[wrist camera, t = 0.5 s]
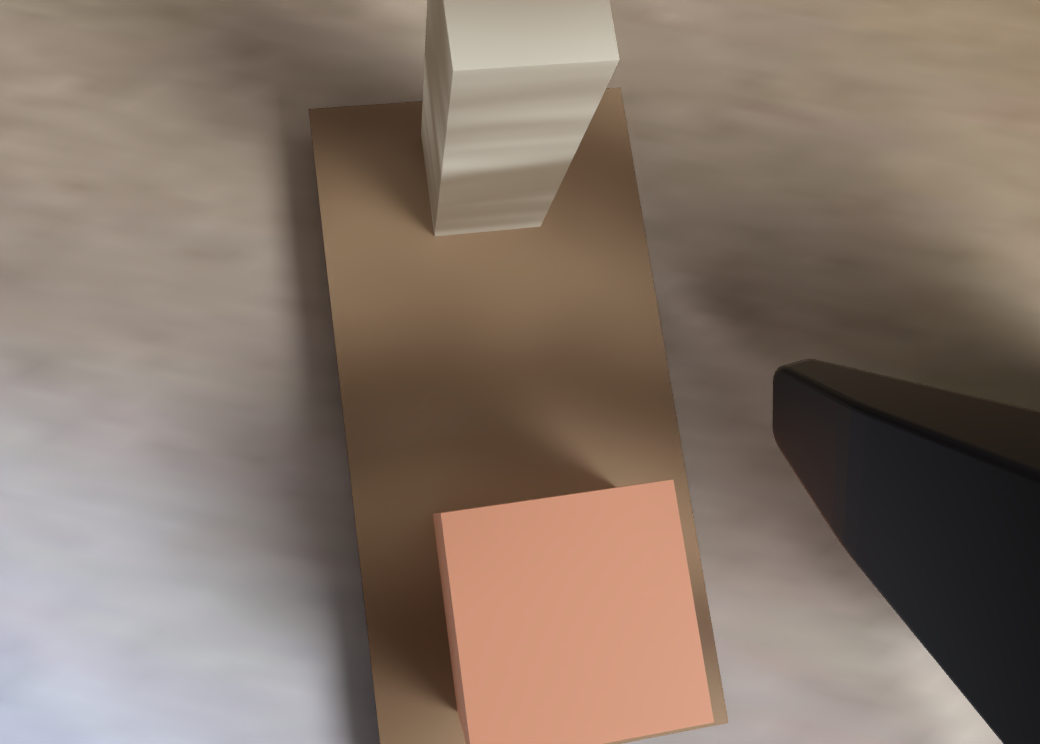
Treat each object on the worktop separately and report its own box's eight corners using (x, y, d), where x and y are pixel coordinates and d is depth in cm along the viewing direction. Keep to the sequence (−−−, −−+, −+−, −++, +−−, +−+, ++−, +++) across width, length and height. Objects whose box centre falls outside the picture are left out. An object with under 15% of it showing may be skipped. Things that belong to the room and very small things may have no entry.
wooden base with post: (712, 712, 24) (937, 855, 14) (386, 774, 22) (373, 984, 12) (610, 106, 26) (737, -144, 16) (313, 128, 25) (253, -131, 15)
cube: (646, 677, 22) (714, 722, 18) (457, 711, 22) (473, 768, 17) (616, 487, 23) (673, 479, 18) (432, 513, 22) (440, 513, 17)
